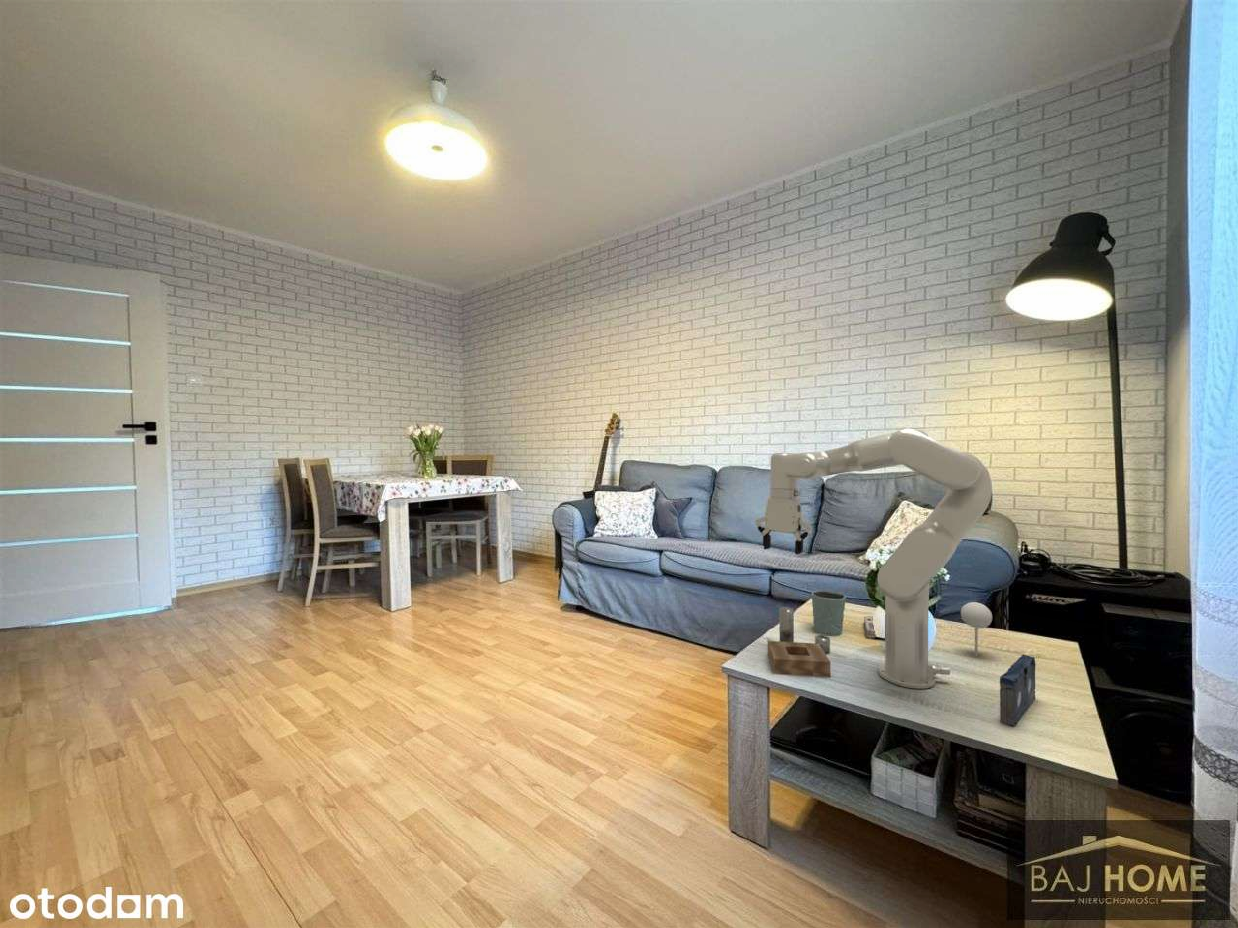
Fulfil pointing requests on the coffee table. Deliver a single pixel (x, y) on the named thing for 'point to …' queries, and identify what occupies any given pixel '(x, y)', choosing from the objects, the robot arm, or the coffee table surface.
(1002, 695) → the vhs cassette tape
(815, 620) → the grey green cup
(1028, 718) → the coffee table surface
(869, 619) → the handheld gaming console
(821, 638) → the short pin
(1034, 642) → the coffee table surface
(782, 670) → the hole block
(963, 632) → the coffee table surface
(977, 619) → the lollipop
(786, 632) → the tall pin
